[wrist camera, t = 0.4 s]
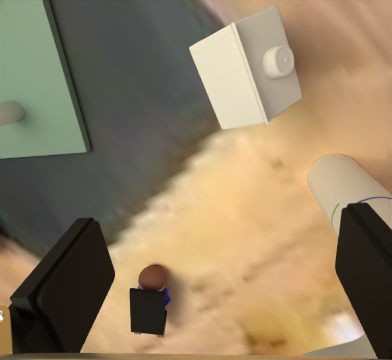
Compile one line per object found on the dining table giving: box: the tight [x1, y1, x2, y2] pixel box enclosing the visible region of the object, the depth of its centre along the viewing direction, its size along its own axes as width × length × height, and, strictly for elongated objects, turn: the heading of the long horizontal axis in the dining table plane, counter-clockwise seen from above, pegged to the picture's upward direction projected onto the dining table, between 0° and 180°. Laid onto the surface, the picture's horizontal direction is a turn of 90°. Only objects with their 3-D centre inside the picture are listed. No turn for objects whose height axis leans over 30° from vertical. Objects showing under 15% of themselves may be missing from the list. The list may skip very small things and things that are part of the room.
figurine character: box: [130, 266, 171, 337], centre depth 52 cm, size 7×8×15 cm
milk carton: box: [189, 4, 302, 129], centre depth 27 cm, size 7×7×19 cm
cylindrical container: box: [307, 154, 392, 237], centre depth 30 cm, size 7×7×25 cm
